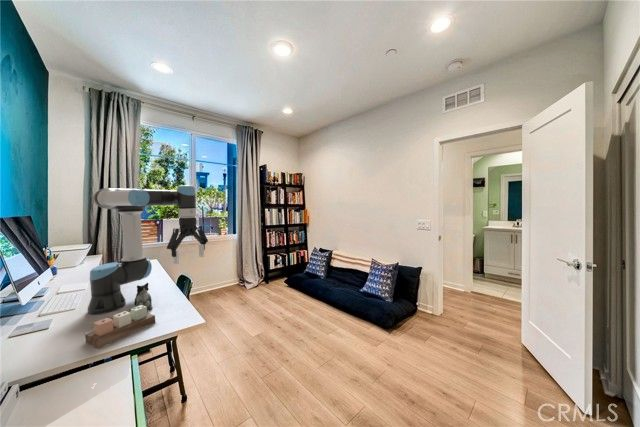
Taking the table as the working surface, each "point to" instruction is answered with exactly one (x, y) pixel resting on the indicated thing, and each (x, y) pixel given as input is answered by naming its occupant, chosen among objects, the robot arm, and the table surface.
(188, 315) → the table surface
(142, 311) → the tile three
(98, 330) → the pink toy block
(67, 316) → the table surface
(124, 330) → the board
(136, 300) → the figurine
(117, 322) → the tile two
